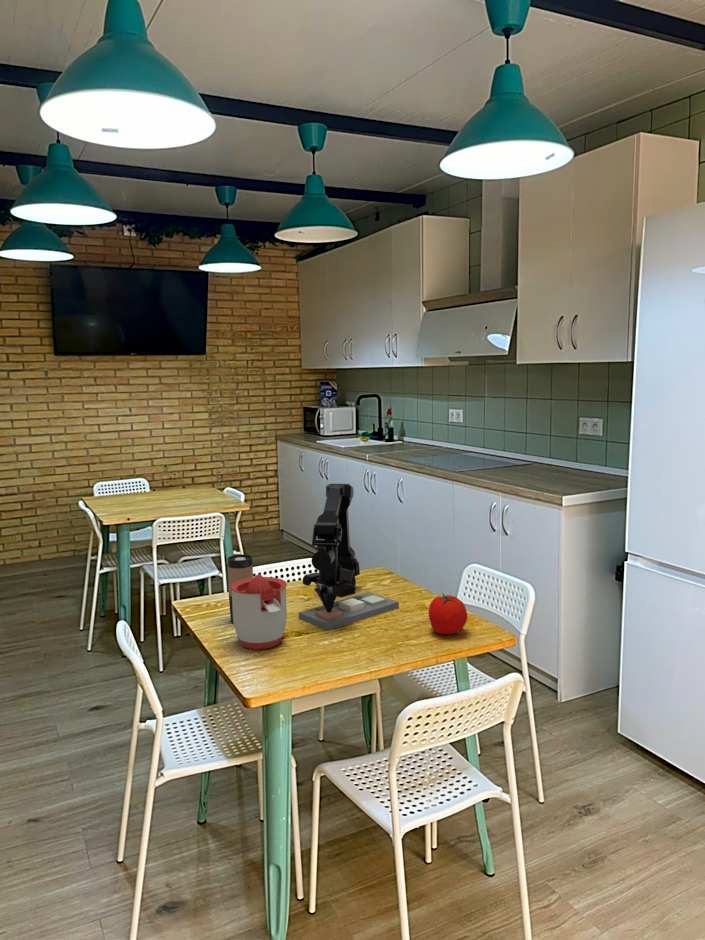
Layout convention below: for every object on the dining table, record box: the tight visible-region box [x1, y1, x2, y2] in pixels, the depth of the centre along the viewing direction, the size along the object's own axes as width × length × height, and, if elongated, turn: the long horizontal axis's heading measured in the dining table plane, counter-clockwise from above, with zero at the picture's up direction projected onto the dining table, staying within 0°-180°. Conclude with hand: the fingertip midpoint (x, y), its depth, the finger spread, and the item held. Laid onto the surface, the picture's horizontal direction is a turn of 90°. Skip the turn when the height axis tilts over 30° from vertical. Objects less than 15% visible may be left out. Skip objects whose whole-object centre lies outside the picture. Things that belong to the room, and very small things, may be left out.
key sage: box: [361, 595, 386, 606], centre depth 225 cm, size 6×6×2 cm
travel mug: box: [227, 553, 254, 625], centre depth 217 cm, size 8×8×20 cm
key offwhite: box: [339, 598, 364, 613], centre depth 219 cm, size 6×6×2 cm
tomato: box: [428, 591, 468, 635], centre depth 205 cm, size 12×12×11 cm
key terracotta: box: [316, 608, 342, 620], centre depth 213 cm, size 6×6×2 cm
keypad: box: [298, 591, 400, 632], centre depth 220 cm, size 14×29×3 cm, turn 131°
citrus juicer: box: [231, 573, 288, 651], centre depth 198 cm, size 16×17×20 cm
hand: (329, 611), depth 213 cm, fingers closed, pressing on key terracotta
